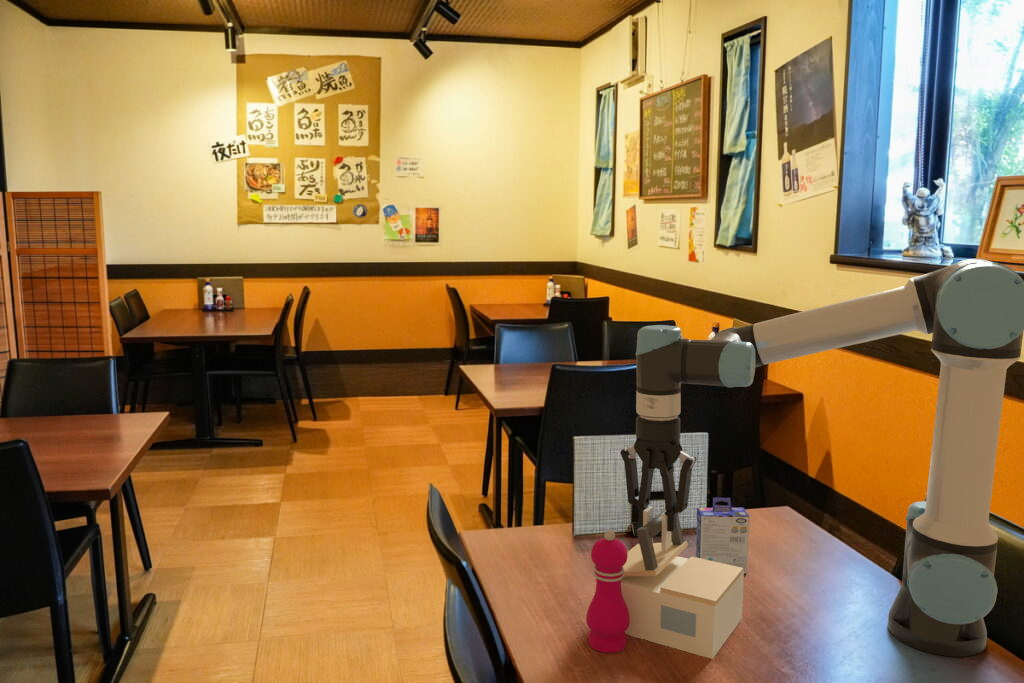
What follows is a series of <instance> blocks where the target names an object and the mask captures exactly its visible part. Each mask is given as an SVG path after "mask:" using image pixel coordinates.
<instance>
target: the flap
mask: <svg viewBox="0 0 1024 683" xmlns="http://www.w3.org/2000/svg"><path fill="white" fill-rule="evenodd" d="M665 511H666V507H664V509H663V510H662V511H661V512H659V513H658V514H657V515H656V516H655V517H653V519H652V520H651V521H650V522H648V523H647V524H646V525H645V526H639V528H637V529H636V534H637V539H638V543H636V544H635V546H633V547H632V548H631V549H629V550H627V554H628V557H627V561H626V563H625V564H624V565H623V568H624V577H626V576H657V575H658V574H659V573H660V572H661V571H662V570H663V569H664V568H665V567H666V566H667V565H668V564H669V563H670V562H671V561H672V560H673V559H674V558H675V557H677V556H678V555H680V554H681V553H682V552H683V551H684V550H685V549H686V548H687V547H689V544H688V541H685V539H684V536H683V530H682V527H681V522H680V517H679V512H678V513H677V521H676V522H677V523H676V524H677V526H676V529H675V530H674V531H673V532H671V546H670V547H669V548H668V549H667V550H666V551H664V550H662V542H652V538H653V539H654V537H656V536H657V535H658V534H659V533H660V532H662V514H663V513H664V512H665ZM678 557H679V556H678Z"/></svg>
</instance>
